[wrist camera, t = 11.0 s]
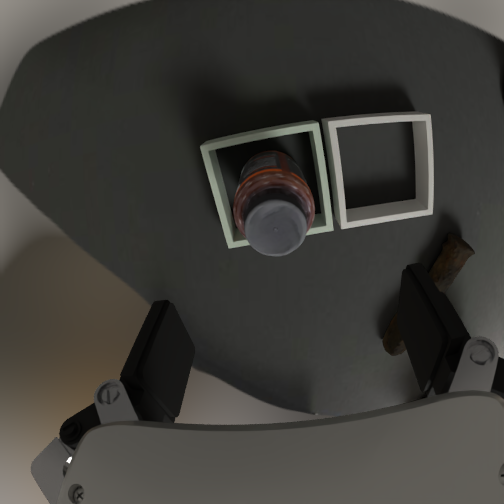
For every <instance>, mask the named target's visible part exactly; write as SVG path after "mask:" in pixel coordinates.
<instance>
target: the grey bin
mask: <svg viewBox="0 0 504 504" xmlns="http://www.w3.org/2000/svg"><path fill="white" fill-rule="evenodd" d="M321 121H322V126H323V132H324V138H325V145H326V151H327V158H328V165H329V172H330V179H331V187H332V195H333V204H334V213H335V218H336V220H337V222H338V224H339V225H340V227H341V229H345V228H351V227H357V226H363V225H369V224H375V223H381V222H387V221H393V220H400V219H406V218H412V217H418V216H424V215H430V214H433V188H434V168H433V141H432V126H431V115H430V114H426V113H421V112H416V111H415V112H390V113H374V114H362V115H351V116H341V117H333V118H325V119H321ZM405 121H412V125H413V137H414V151H415V174H416V199H412V200H405V201H398V202H391V203H385V204H378V205H372V206H365V207H359V208H352V209H346V206H345V195H344V186H343V177H342V168H341V161H340V153H339V146H338V139H337V133H336V127H344V126H353V125H363V124H375V123H388V122H405Z"/></svg>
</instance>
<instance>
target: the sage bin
mask: <svg viewBox="0 0 504 504" xmlns="http://www.w3.org/2000/svg"><path fill="white" fill-rule="evenodd" d="M307 131H309V136H310V142H311V148H312V154H313V160H314V166H315V173H316V179H317V186H318V193H319V200H320V208H321V214H315V216H314V220H313V223H312V225H311V227H310V229H309V231H308V232H307V234H306V235H310V234H316V233H321V232H327V231H333V222H332V213H331V204H330V195H329V188H328V180H327V173H326V166H325V159H324V152H323V146H322V140H321V134H320V128H319V123H318V122H316V121H314V120H310V121H303V122H297V123H290V124H284V125H279V126H273V127H268V128H262V129H257V130H252V131H248V132H243V133H238V134H234V135H229V136H225V137H221V138H217V139H213V140H209V141H206V142H205V143H203V144H202V145H201V146H200V149H201V152H202V156H203V160H204V163H205V167H206V171H207V174H208V178H209V181H210V185H211V188H212V192H213V196H214V199H215V203H216V206H217V210H218V213H219V217H220V220H221V224H222V227H223V231H224V234H225V237H226V241H227V244H228V248H234V247H240V246H246V245H250V244H249V242H248V241H247V239H246V238H245V237H244V236H243V235H242V234H241V233H240V231H239V230H238V228H236V227H235V223H234V219H233V216H232V212H231V208H230V204H229V201H228V197H227V193H226V189H225V186H224V182H223V178H222V174H221V170H220V167H219V163H218V159H217V155H216V151H215V149H219V148H223V147H227V146H232V145H236V144H241V143H246V142H251V141H255V140H260V139H266V138H271V137H276V136H282V135H288V134H294V133H300V132H307Z"/></svg>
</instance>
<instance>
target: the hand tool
mask: <svg viewBox="0 0 504 504" xmlns="http://www.w3.org/2000/svg"><path fill="white" fill-rule="evenodd" d="M442 247H443V249H442V252H441V253H440V255H439V257H438V258H437V260H436V262H435V263H434V265H433V267H432V268H431V270H430V272H429V273H428V274H429V275H430V277H431V279H432V280H433V282H434V283H435V285H436V286H437V288H438V289H439V291H440V292H441V291H442V292H444V294H445V292H446V290H447V289H448V288H449V286H450V285H451V284H452V283H453V281H454V279H455V277H456V276H457V274H458V273H459V272H460V270H461V269H462V267H463V266H464V264H465V262H466V261H467V259H468V258H469V257H470V256H471V255H474V254H475V252H474V250H473V249H472V248H471V247H470V246H469V244H468V243H466V242H465V241H464V240H463V239H461V238H460V237H458V236H456V235H454V234H451V233H448V240H447V242H445V243H443V244H442ZM397 314H398V312H397V313H396V314H395V316H394V317H393V319H392V321H391V323H390V325H389V327H388V329H387V331H386V333H385V335H384V338H383V341H382V342H383V346H384V348H385V350H386V352H388V353H389V354H390V355H392V356H396V355H399V354H402V353H403V352H404V351H405V350H406V347H405V344H404V342H403V339H402V336H401V334H400V331H399V329H398V326H397Z"/></svg>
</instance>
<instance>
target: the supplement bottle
mask: <svg viewBox="0 0 504 504" xmlns="http://www.w3.org/2000/svg"><path fill="white" fill-rule="evenodd" d="M233 215H234V220H235V223H236V226H237V228H238V230H239V231H240V233H241V234H242V235H243V236H244V237H245V238H246V239H247V241H248V242H249V244H250V245H251V246H252V247H253V248H254V249H255V250H256V251H258V252H260V253H262V254H264V255H269V256H282V255H286V254H288V253H291V252H292V251H294V250H295V249H297V248H298V247H299V246H300V245H301V243H302V242H303V241H304V238H305V236H306V234H307V232H308V231H309V229H310V227H311V225H312V223H313V220H314V216H315V205H314V199H313V196H312V193H311V191H310V189H309V187H308V184H307V182H306V180H305V178H304V176H303V174H302V172H301V170H300V168H299V166H298V165H297V163H296V162H295V161H294V160H293V159H292V158H291V157H290V156H288V155H286V154H284V153H282V152H278V151H264V152H261V153H258V154H256V155H254V156H253V157H251V158H250V159H249V160H248V161H247V163H246V164H245V166H244V168H243V170H242V172H241V176H240V179H239V184H238V187H237V191H236V195H235V199H234V204H233Z"/></svg>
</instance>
